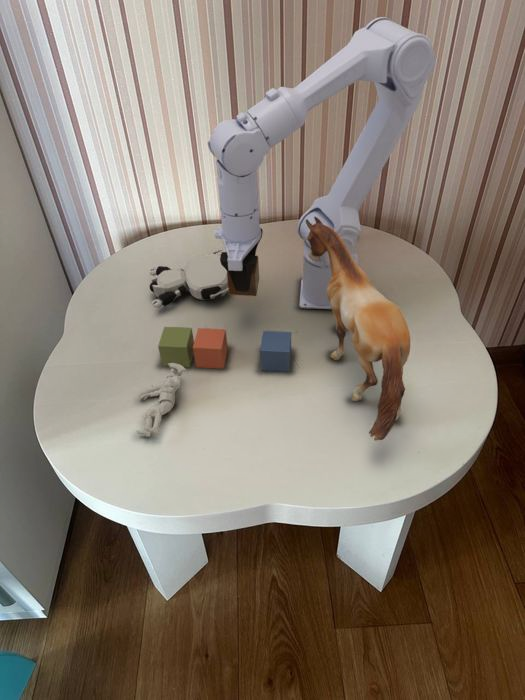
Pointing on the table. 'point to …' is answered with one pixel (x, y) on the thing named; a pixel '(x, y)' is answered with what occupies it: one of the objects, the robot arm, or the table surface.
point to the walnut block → (253, 283)
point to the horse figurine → (364, 324)
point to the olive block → (176, 346)
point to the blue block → (275, 351)
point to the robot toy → (190, 280)
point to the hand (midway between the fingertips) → (244, 280)
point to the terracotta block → (210, 348)
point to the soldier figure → (162, 400)
